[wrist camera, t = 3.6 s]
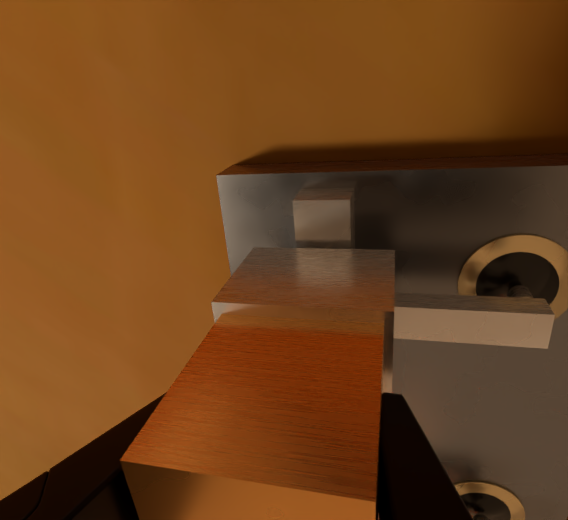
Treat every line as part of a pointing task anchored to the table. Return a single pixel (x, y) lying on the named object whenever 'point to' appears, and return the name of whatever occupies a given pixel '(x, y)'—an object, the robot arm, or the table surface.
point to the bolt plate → (452, 281)
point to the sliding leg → (300, 387)
